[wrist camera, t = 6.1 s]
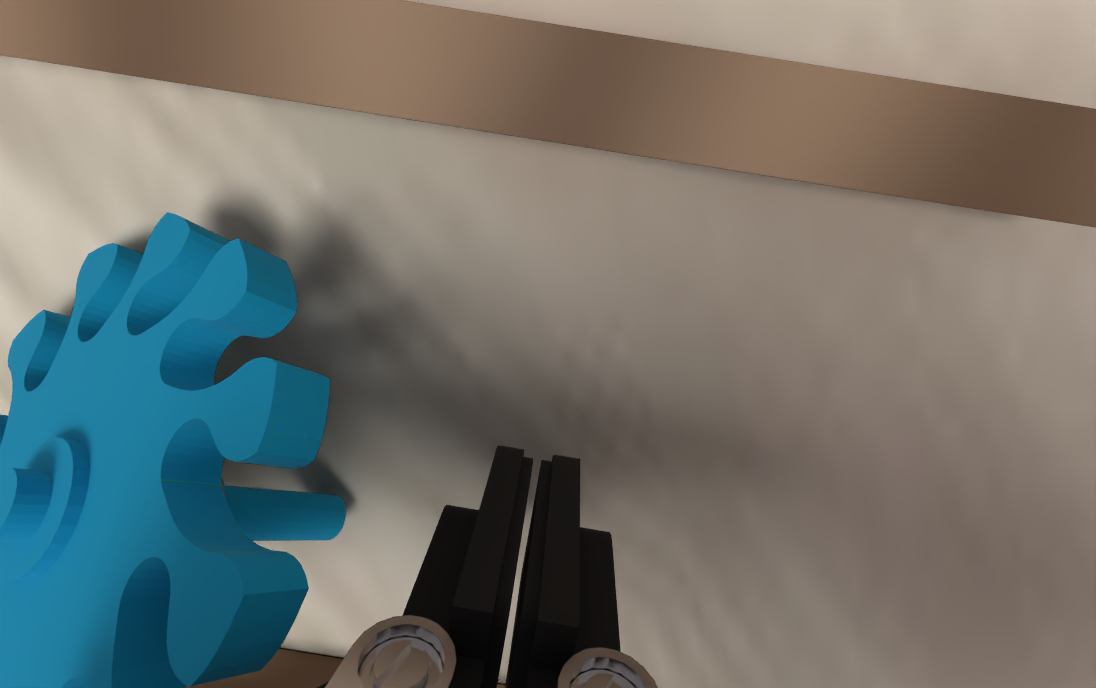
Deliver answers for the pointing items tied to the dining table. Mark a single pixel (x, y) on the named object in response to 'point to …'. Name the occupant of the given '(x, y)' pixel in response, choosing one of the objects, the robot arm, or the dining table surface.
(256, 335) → the gear
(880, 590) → the dining table surface
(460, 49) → the guide
